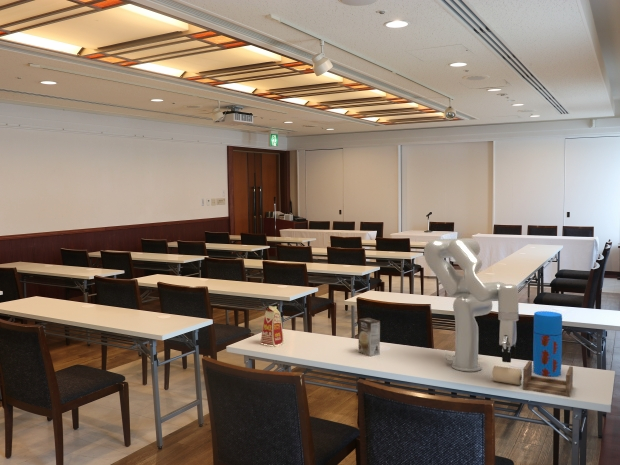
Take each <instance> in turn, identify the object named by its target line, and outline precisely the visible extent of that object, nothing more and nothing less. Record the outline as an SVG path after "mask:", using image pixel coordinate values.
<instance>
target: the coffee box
mask: <svg viewBox="0 0 620 465" xmlns="http://www.w3.org/2000/svg"><path fill="white" fill-rule="evenodd" d="M357 344H358V349H357V350H358V353H360V352H361V353H360V354H362V353H363V355H365V354H366V356H368V357H374V356H378V354H379V355H380V354H381V352H380V351H381V350H380V349H381V346H380V345H381V321H380V320H377V319H374V318H371V317H365V318H364V317H363V318H359V319H358V343H357ZM373 355H374V356H373Z"/></svg>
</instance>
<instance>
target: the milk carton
mask: <svg viewBox="0 0 620 465" xmlns="http://www.w3.org/2000/svg"><path fill="white" fill-rule="evenodd" d="M277 307H278V306H276V305H275V306H271V305H268V308H267V309H266V310H265V313H264V318H263V325H262V329H261V338H260V343H263V344H267V345H273V346H275V345H278V344H281V343H283V342H284V330H283V322H282V317H281V312H280V311H279V310H278V309H277ZM283 344H284V343H283ZM281 345H282V344H281Z"/></svg>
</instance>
